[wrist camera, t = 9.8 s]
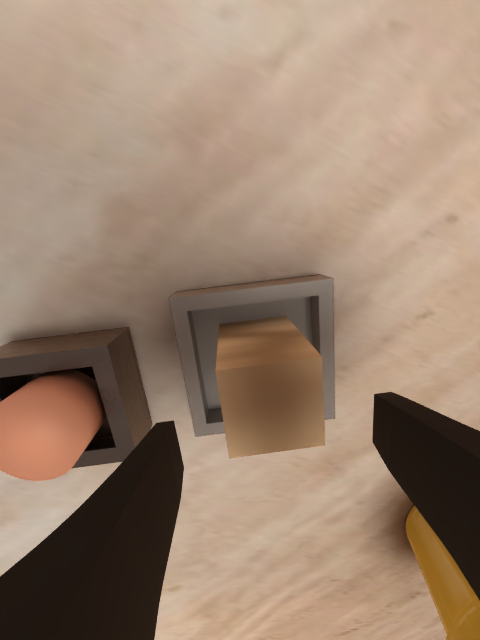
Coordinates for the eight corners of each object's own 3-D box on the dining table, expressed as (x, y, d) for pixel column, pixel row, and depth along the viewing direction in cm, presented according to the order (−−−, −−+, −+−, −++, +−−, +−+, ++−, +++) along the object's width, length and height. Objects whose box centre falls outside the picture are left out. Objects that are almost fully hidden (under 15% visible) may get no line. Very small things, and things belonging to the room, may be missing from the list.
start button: (41, 441, 15) (-2, 486, 12) (15, 373, 14) (-39, 406, 11) (116, 431, 15) (91, 474, 12) (97, 363, 14) (63, 393, 11)
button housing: (48, 438, 18) (13, 475, 15) (11, 341, 16) (-37, 363, 13) (152, 424, 18) (137, 459, 15) (128, 327, 16) (107, 345, 13)
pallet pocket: (198, 416, 18) (195, 436, 16) (175, 291, 15) (168, 298, 13) (323, 400, 18) (335, 418, 16) (320, 274, 15) (333, 278, 14)
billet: (228, 384, 16) (229, 458, 11) (219, 324, 15) (215, 370, 10) (290, 375, 17) (325, 445, 11) (286, 315, 15) (322, 356, 10)
